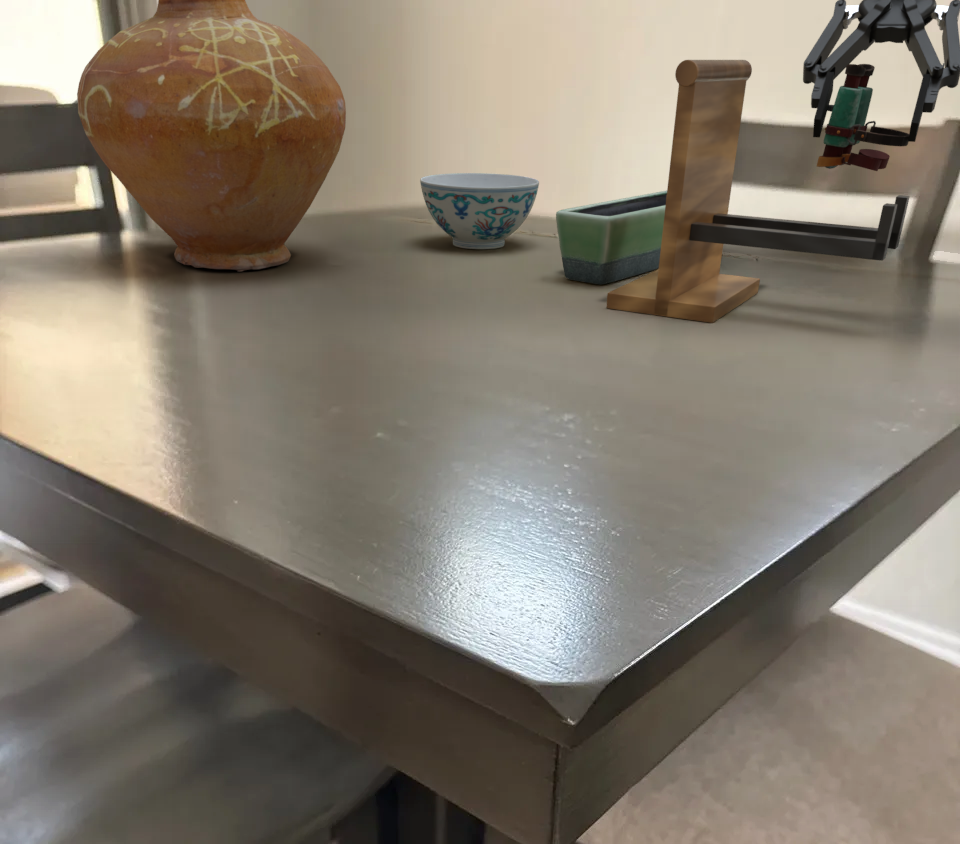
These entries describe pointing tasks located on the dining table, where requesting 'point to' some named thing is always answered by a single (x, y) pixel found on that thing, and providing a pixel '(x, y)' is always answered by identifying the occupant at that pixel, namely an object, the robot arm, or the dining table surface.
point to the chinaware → (479, 206)
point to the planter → (612, 238)
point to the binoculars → (856, 125)
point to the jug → (214, 128)
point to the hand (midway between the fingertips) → (864, 130)
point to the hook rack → (726, 209)
